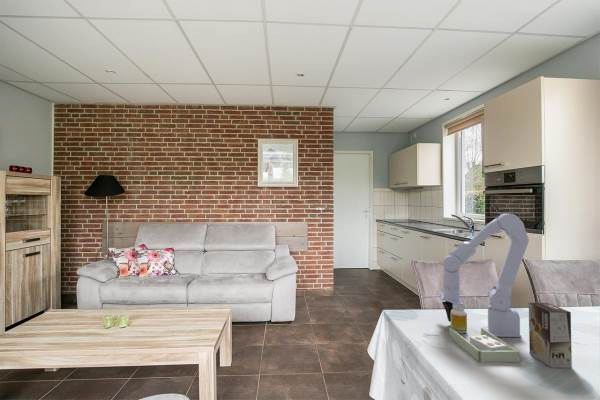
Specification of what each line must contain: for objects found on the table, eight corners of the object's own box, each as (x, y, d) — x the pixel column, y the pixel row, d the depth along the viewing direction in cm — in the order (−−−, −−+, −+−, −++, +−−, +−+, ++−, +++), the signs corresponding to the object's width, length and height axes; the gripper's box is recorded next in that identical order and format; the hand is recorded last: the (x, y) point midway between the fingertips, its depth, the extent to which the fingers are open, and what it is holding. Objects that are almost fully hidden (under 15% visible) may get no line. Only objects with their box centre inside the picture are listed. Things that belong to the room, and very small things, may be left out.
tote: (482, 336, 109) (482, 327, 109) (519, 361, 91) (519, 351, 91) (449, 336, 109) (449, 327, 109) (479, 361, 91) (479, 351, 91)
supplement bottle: (469, 334, 111) (468, 307, 111) (453, 332, 112) (452, 306, 112) (464, 328, 116) (464, 302, 117) (449, 327, 117) (448, 301, 118)
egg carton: (484, 346, 101) (484, 332, 102) (506, 358, 94) (506, 343, 94) (469, 349, 100) (469, 334, 100) (491, 361, 92) (491, 345, 92)
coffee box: (573, 368, 88) (572, 312, 88) (550, 368, 88) (550, 311, 88) (548, 353, 97) (547, 302, 97) (527, 352, 97) (527, 302, 97)
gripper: (433, 281, 127) (433, 314, 127) (450, 291, 113) (450, 328, 112) (450, 282, 127) (450, 314, 127) (469, 291, 113) (469, 328, 112)
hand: (451, 321), depth 120 cm, fingers closed
